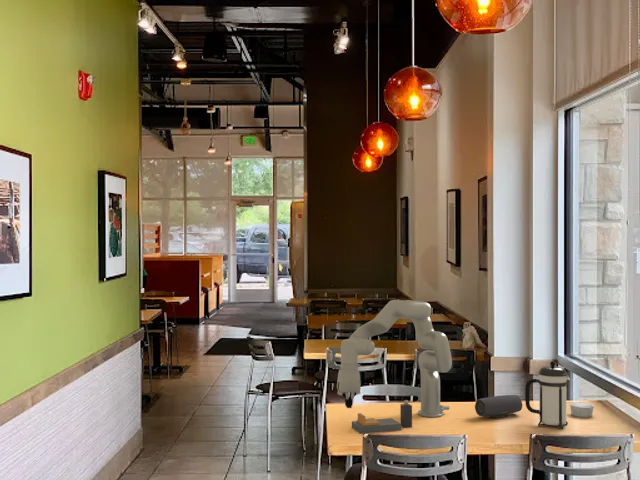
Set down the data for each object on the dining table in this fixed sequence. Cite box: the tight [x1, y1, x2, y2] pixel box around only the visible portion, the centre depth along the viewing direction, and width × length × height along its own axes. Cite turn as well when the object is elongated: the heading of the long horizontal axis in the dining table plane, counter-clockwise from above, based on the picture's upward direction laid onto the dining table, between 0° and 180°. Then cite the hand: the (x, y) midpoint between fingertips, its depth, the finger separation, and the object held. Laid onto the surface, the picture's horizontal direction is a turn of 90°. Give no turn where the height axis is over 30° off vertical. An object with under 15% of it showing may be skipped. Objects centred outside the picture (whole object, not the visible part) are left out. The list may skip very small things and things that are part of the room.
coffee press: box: [524, 361, 571, 431], centre depth 333 cm, size 17×16×30 cm
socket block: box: [351, 417, 402, 435], centre depth 328 cm, size 20×11×3 cm, turn 108°
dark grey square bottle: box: [399, 399, 413, 429], centre depth 332 cm, size 4×4×12 cm
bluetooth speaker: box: [474, 394, 523, 418], centre depth 351 cm, size 23×9×10 cm, turn 115°
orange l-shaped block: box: [356, 412, 380, 426], centre depth 326 cm, size 8×8×4 cm
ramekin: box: [569, 401, 595, 418], centre depth 353 cm, size 11×11×5 cm
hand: (348, 407), depth 323 cm, fingers closed
